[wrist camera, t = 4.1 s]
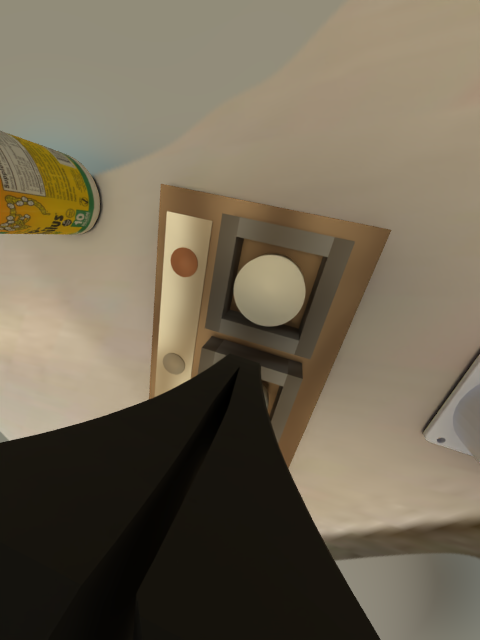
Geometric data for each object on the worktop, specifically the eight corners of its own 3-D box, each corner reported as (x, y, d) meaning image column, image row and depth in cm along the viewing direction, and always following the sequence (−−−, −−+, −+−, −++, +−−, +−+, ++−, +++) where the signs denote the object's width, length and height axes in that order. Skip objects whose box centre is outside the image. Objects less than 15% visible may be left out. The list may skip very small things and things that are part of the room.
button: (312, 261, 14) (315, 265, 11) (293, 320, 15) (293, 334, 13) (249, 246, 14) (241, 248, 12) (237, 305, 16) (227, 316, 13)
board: (384, 230, 13) (407, 228, 10) (272, 496, 23) (269, 531, 20) (169, 187, 15) (140, 175, 12) (151, 448, 25) (133, 474, 22)
